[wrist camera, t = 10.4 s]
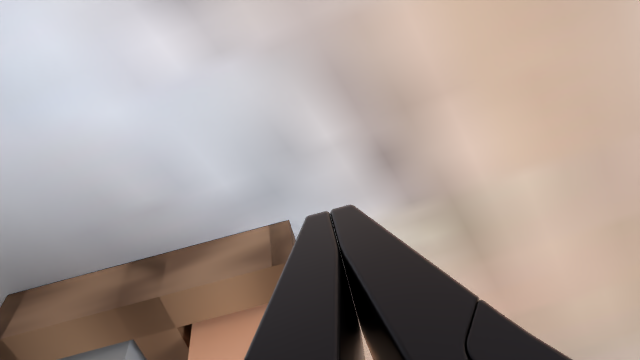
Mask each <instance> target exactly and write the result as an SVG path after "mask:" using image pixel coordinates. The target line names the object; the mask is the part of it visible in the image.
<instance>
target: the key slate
mask: <svg viewBox="0 0 640 360" xmlns="http://www.w3.org/2000/svg"><path fill="white" fill-rule="evenodd" d="M58 360H147V359H146V358H145V356H144V355H143V353H142V352H141V350H140V348H139V347H138V345H137V344H136V342H135V341H134V339H133V340H129V341H125V342H121V343H118V344H114V345H110V346H106V347H103V348H99V349H95V350H91V351H88V352H84V353H80V354H76V355H73V356H69V357H65V358H61V359H58Z"/></svg>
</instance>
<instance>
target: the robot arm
mask: <svg viewBox="0 0 640 360" xmlns="http://www.w3.org/2000/svg"><path fill="white" fill-rule="evenodd" d="M330 215H331V216H330ZM331 218H332V220H331ZM332 222H333V223H332ZM333 226H334V227H333ZM334 230H335V231H334ZM336 237H337V238H336ZM337 241H338V242H337ZM338 245H339V246H338ZM340 252H341V253H340ZM341 256H342V257H341ZM342 260H343V261H342ZM344 267H345V268H344ZM345 271H346V272H345ZM346 275H347V276H346ZM348 282H349V283H348ZM349 286H350V287H349ZM350 290H351V291H350ZM351 293H352V295H351ZM352 297H353V298H352ZM353 301H354V302H353ZM354 305H355V306H354ZM355 308H356V310H355ZM356 312H357V313H356ZM357 316H358V317H357ZM358 319H359V321H358ZM359 323H360V326H361V329H362V332H363V335H364V338H365V340H366V343H367V345H368V348H369V350H370V353H371V355H372V357H373V360H572V359H571V358H569V357H567V356H566V355H564V354H562V353H561V352H559V351H557V350H556V349H554V348H553V347H551V346H549V345H548V344H546V343H544V342H543V341H541V340H540V339H538V338H536V337H535V336H533V335H531V334H530V333H528V332H527V331H526V330H524V329H523V328H521V327H520V326H518V325H517V324H515V323H514V322H512V321H511V320H510V319H508V318H507V317H505V316H504V315H502V314H501V313H499V312H498V311H497V310H495V309H494V308H493V307H491V306H490V305H489V304H487V303H486V302H485V301H483V300H479V298H478V296H476V295H475V294H473V293H472V292H471V291H469V290H468V289H467V288H465V287H464V286H463V285H461V284H460V283H458V282H457V281H456V280H454V279H453V278H452V277H450V276H449V275H448V274H446V273H445V272H443V271H442V270H441V269H439V268H438V267H437V266H435V265H434V264H433V263H431V262H430V261H428V260H427V259H426V258H424V257H423V256H422V255H420V254H419V253H418V252H416V251H415V250H413V249H412V248H411V247H409V246H408V245H407V244H405V243H404V242H403V241H401V240H400V239H398V238H397V237H396V236H394V235H393V234H392V233H390V232H389V231H388V230H386V229H385V228H383V227H382V226H381V225H379V224H378V223H377V222H375V221H374V220H373V219H371V218H370V217H368V216H367V215H366V214H364V213H363V212H362V211H360V210H359V209H358V208H356V207H355V206H353V205H347V206H343V207H340V208H336V209H333V210H332V211H331V212H330V213H329V212H327V211H325V212H321V213H317V214H313V215H310V216H307V217H306V219H305V221H304V223H303V226H302V228H301V230H300V232H299V235H298V237H297V239H296V242H295V244H294V246H293V248H292V251H291V253H290V255H289V258H288V260H287V262H286V264H285V267H284V269H283V271H282V273H281V276H280V278H279V280H278V283H277V285H276V287H275V289H274V292H273V294H272V296H271V299H270V301H269V303H268V305H267V308H266V310H265V312H264V315H263V317H262V319H261V321H260V324H259V326H258V328H257V331H256V333H255V335H254V337H253V340H252V342H251V344H250V346H249V349H248V351H247V353H246V356H245V358H244V360H365V356H364V349H363V342H362V335H361V330H360V326H359Z"/></svg>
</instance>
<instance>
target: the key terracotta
mask: <svg viewBox="0 0 640 360" xmlns="http://www.w3.org/2000/svg"><path fill="white" fill-rule="evenodd" d="M267 305H268V304H264V305H260V306H256V307H253V308H249V309H245V310H241V311H238V312H234V313H230V314H226V315H223V316H219V317H215V318H211V319H208V320H204V321H200V322H196V323H193V324H192V330H191V338H190V346H189V354H188V360H244V358H245V356H246V353H247V351H248V349H249V346H250V344H251V342H252V340H253V337H254V335H255V333H256V331H257V328H258V326H259V324H260V321H261V319H262V317H263V315H264V312H265V310H266V308H267Z"/></svg>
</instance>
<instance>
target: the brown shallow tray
mask: <svg viewBox="0 0 640 360" xmlns="http://www.w3.org/2000/svg"><path fill="white" fill-rule="evenodd" d="M295 242H296V240H295V237H294V234H293V231H292V228H291V225H290V222H289V220H288V221H284V222H280V223H276V224H273V225H269V226H265V227H261V228H258V229H254V230H250V231H246V232H243V233H239V234H235V235H231V236H228V237H224V238H220V239H216V240H213V241H209V242H205V243H201V244H198V245H194V246H190V247H186V248H183V249H179V250H175V251H171V252H168V253H164V254H160V255H156V256H153V257H149V258H145V259H141V260H138V261H134V262H130V263H127V264H123V265H119V266H115V267H112V268H108V269H104V270H100V271H97V272H93V273H89V274H85V275H82V276H78V277H74V278H70V279H67V280H63V281H59V282H55V283H52V284H48V285H44V286H40V287H37V288H33V289H29V290H25V291H22V292H18V293H14V294H10V295H8V296H7V297H6V299H5V301H4V303H3V304H2V306H1V308H0V360H58V359H61V358H65V357H69V356H73V355H76V354H80V353H84V352H88V351H91V350H95V349H99V348H103V347H106V346H110V345H114V344H118V343H121V342H125V341H129V340H133V339H134V341H135V342H136V344H137V345H138V347H139V348H140V350H141V352H142V353H143V355H144V356H145V358H146V359H147V360H188V354H189V346H190V338H191V330H192V324H193V323H196V322H200V321H204V320H208V319H211V318H215V317H219V316H223V315H226V314H230V313H234V312H238V311H241V310H245V309H249V308H253V307H256V306H260V305H264V304H268V303H269V301H270V299H271V296H272V294H273V292H274V289H275V287H276V285H277V283H278V280H279V278H280V276H281V273H282V271H283V269H284V267H285V264H286V262H287V260H288V258H289V255H290V253H291V251H292V248H293V246H294V244H295Z"/></svg>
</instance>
